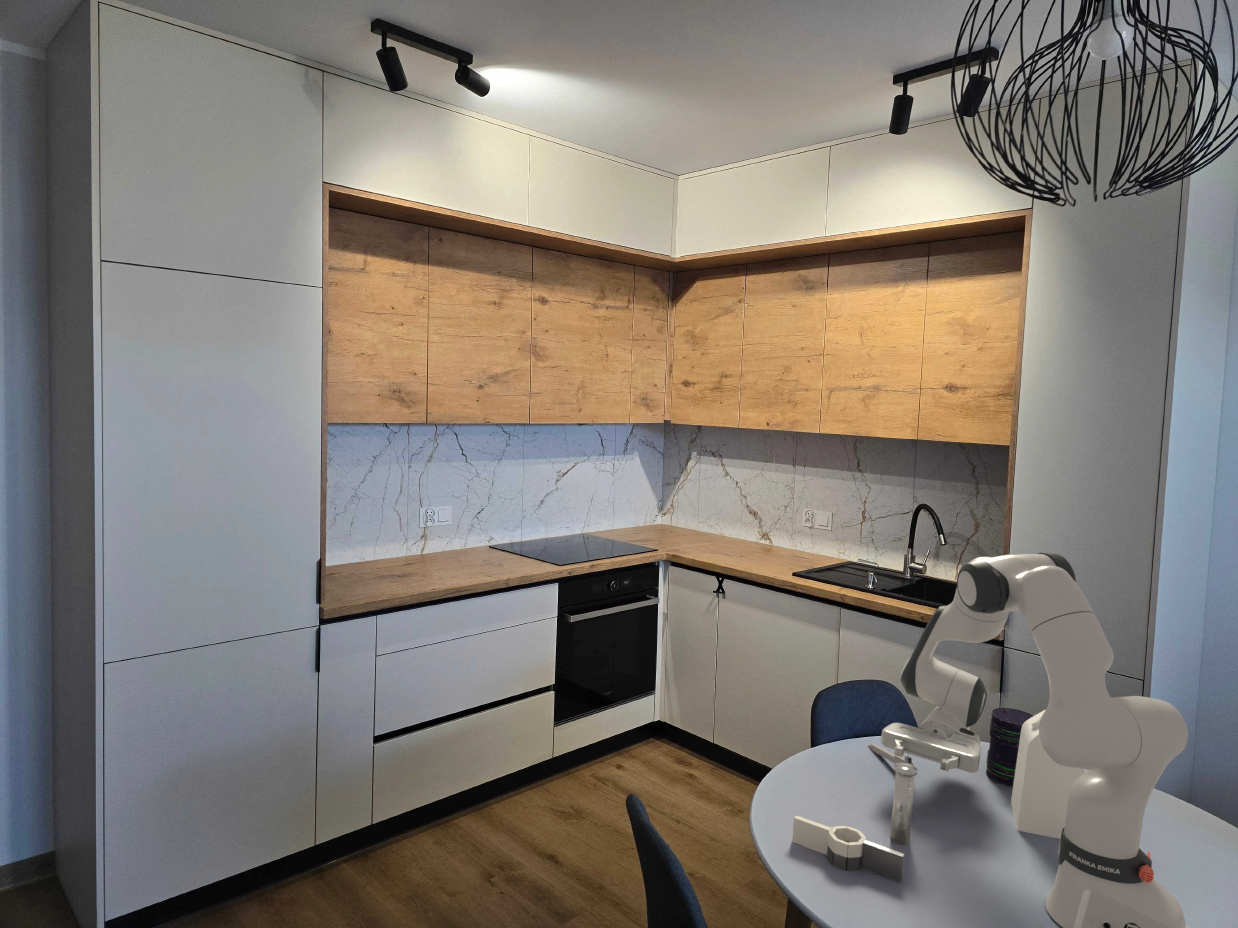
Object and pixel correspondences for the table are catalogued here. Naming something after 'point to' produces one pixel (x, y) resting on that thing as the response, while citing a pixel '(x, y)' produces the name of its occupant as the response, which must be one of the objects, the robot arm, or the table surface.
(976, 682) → the robot arm
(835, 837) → the hinge leaf
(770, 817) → the table surface
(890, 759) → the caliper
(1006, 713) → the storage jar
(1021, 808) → the milk
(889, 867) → the hinge leaf
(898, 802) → the hinge pin
